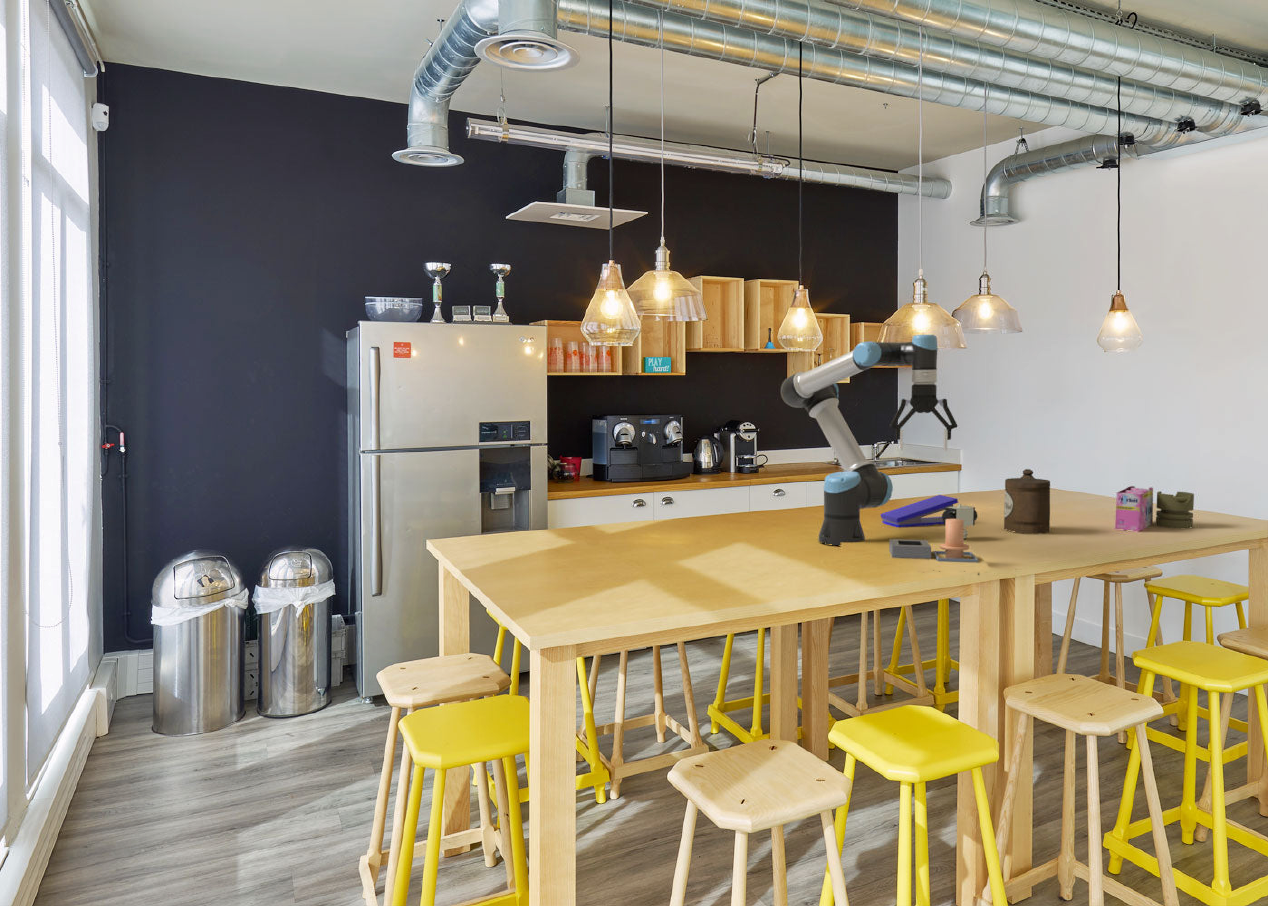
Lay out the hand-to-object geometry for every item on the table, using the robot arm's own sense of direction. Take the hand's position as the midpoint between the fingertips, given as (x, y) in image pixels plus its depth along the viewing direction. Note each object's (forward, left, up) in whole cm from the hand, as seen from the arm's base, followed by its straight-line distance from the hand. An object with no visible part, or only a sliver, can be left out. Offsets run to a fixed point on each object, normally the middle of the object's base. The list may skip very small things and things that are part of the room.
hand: (923, 450), depth 271 cm
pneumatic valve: (+14, +18, -32) cm, 39 cm away
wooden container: (+40, +38, -32) cm, 64 cm away
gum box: (+79, +52, -32) cm, 100 cm away
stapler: (+5, +49, -32) cm, 59 cm away
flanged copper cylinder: (+7, -22, -31) cm, 39 cm away
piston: (+94, +56, -32) cm, 114 cm away
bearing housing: (-6, -19, -32) cm, 37 cm away
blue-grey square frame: (+7, -22, -32) cm, 39 cm away
